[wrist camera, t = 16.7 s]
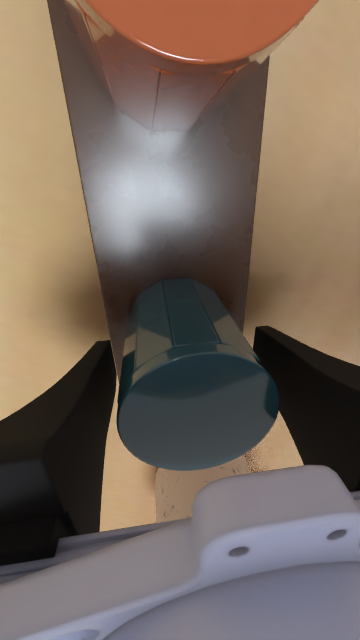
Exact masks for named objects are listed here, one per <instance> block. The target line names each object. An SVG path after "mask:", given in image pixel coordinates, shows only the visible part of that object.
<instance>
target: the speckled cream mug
mask: <svg viewBox="0 0 360 640" xmlns="http://www.w3.org/2000/svg"><path fill="white" fill-rule="evenodd" d="M248 473H251V472H250V469H249V466H248V464H247V461H246V459H245V457H244V456H243V455H242V456H240V457H238V458H236V459H234V460H232V461H230V462H228V463H225V464H222V465H219V466H216V467H212V468H208V469H202V470H194V471H174V470H167V469H162V468H158V469H157V472H156V475H155V501H156V523H160V522H166V521H172V520H179V519H185V518H190V517H192V503H193V501H194V499H195V496H196V494H197V493H198V491H199V490H201V489H202V488H203V487H205V486H206V485H208V484H209V483H210V482H212V481H215V480H218V479H222V478H225V477H228V476H235V475H242V474H248Z"/></svg>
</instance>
